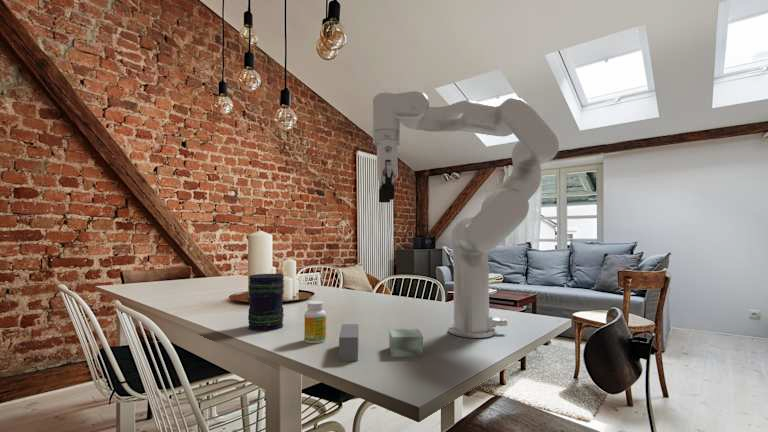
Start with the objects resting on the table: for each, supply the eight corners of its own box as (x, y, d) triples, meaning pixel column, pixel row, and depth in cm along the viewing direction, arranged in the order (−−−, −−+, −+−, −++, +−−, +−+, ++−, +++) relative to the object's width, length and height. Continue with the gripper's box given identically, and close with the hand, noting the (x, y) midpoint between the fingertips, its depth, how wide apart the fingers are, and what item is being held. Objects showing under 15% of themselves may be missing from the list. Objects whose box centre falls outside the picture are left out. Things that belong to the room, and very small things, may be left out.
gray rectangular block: (358, 344, 96) (358, 324, 96) (357, 360, 84) (357, 337, 84) (341, 344, 95) (342, 324, 96) (339, 361, 83) (339, 337, 84)
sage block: (418, 347, 94) (418, 328, 94) (423, 357, 87) (423, 336, 87) (389, 348, 93) (389, 329, 94) (391, 357, 86) (391, 337, 87)
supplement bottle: (315, 345, 95) (316, 305, 96) (299, 341, 98) (300, 302, 98) (330, 339, 100) (330, 301, 100) (314, 336, 103) (314, 299, 103)
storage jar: (290, 326, 114) (290, 275, 114) (260, 333, 106) (261, 278, 107) (270, 321, 120) (271, 273, 121) (241, 327, 113) (242, 275, 113)
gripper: (404, 131, 99) (404, 198, 99) (396, 146, 117) (396, 203, 116) (374, 130, 99) (374, 198, 98) (371, 145, 116) (370, 203, 115)
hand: (386, 201), depth 107 cm, fingers open, 9 cm apart
